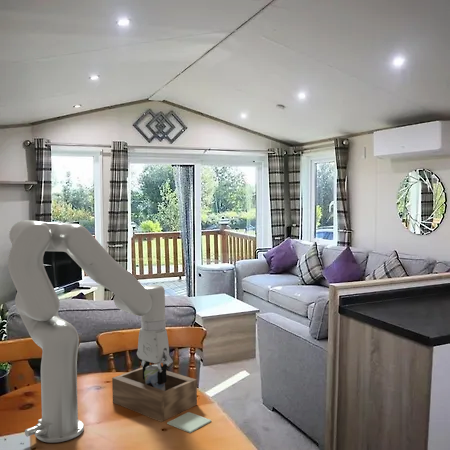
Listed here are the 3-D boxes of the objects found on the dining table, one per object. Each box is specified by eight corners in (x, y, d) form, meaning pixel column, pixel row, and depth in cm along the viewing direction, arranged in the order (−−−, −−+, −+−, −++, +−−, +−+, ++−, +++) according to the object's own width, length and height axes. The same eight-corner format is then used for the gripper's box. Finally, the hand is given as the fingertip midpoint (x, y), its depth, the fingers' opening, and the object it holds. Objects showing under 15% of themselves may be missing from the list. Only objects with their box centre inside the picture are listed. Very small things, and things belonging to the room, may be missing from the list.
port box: (161, 421, 139) (160, 394, 139) (112, 402, 154) (112, 377, 153) (196, 404, 151) (196, 379, 151) (148, 388, 165) (148, 365, 165)
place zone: (190, 433, 132) (190, 431, 132) (167, 423, 138) (167, 422, 138) (211, 421, 139) (211, 420, 139) (188, 413, 145) (188, 411, 145)
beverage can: (164, 408, 149) (166, 370, 148) (141, 406, 149) (142, 369, 149) (167, 399, 156) (169, 363, 155) (144, 398, 156) (146, 361, 155)
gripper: (126, 323, 154) (127, 378, 155) (164, 331, 143) (165, 390, 144) (144, 318, 160) (145, 371, 161) (181, 326, 149) (182, 383, 150)
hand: (154, 380), depth 152 cm, fingers closed on beverage can, 6 cm apart
